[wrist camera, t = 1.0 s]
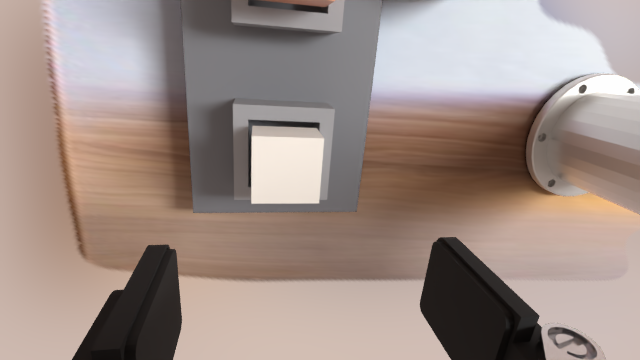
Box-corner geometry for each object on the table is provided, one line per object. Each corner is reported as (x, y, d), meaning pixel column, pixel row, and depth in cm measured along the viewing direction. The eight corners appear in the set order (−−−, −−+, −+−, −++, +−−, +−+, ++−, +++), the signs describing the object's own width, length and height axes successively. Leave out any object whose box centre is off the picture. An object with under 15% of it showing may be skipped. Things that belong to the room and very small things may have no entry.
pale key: (316, 128, 24) (324, 138, 21) (312, 186, 25) (319, 203, 23) (252, 125, 23) (251, 136, 20) (252, 186, 25) (251, 203, 22)
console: (381, -100, 25) (416, -142, 20) (348, 198, 34) (366, 227, 28) (181, -134, 23) (156, -192, 17) (199, 198, 31) (186, 230, 26)
